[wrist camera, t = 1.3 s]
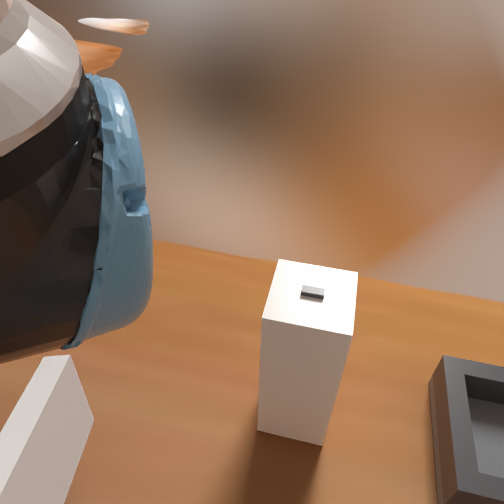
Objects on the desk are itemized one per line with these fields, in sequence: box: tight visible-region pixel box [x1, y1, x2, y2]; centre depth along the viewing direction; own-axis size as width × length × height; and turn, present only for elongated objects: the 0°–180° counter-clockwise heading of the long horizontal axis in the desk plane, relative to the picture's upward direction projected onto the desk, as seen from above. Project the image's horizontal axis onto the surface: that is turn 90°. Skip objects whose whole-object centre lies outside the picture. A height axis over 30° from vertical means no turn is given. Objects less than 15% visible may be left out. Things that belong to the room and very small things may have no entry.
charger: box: [257, 259, 358, 446], centre depth 26 cm, size 4×4×12 cm
